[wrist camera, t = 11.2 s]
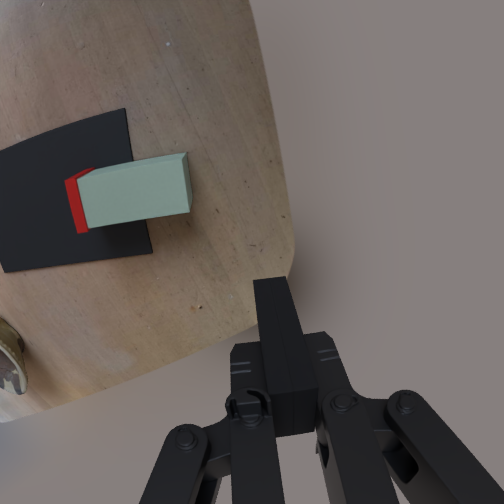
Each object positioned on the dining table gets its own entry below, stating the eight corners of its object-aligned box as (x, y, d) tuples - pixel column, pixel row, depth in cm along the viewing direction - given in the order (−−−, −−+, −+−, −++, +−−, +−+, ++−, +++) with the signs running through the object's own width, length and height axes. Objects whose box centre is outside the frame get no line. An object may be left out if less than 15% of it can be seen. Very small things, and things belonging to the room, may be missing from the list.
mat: (125, 108, 33) (124, 108, 33) (152, 252, 42) (152, 253, 41) (-27, 164, 33) (-28, 164, 32) (5, 271, 41) (4, 272, 41)
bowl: (-29, 296, 43) (-53, 322, 35) (27, 306, 45) (3, 338, 36) (-1, 358, 51) (-18, 385, 42) (55, 372, 52) (40, 405, 44)
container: (181, 156, 31) (64, 180, 30) (190, 215, 33) (77, 233, 32) (186, 149, 36) (85, 169, 35) (193, 199, 39) (95, 215, 38)
